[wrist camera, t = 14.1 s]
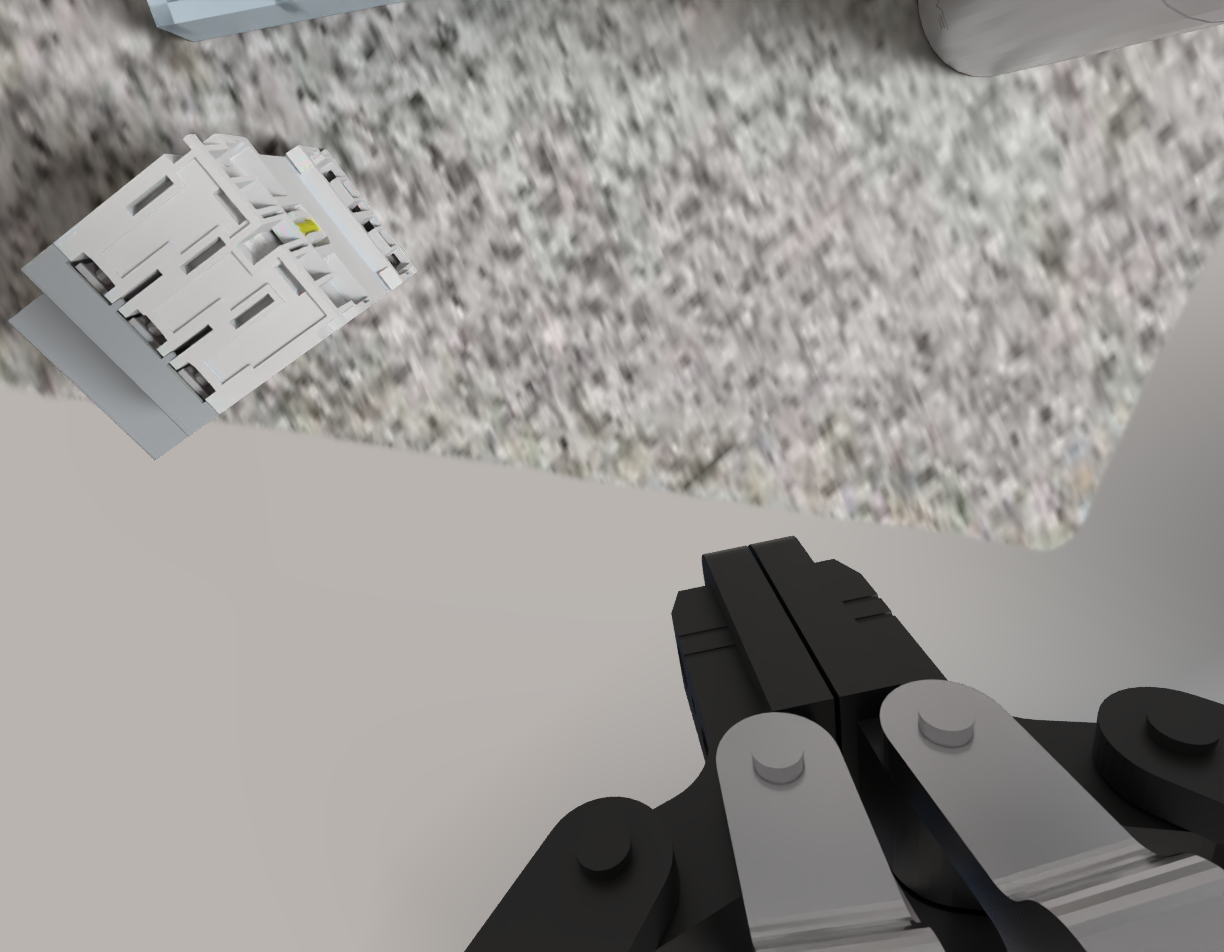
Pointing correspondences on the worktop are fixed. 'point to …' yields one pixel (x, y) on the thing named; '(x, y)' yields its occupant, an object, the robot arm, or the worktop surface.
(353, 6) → the rack
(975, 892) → the robot arm
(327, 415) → the worktop surface
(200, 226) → the circuit breaker
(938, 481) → the worktop surface
